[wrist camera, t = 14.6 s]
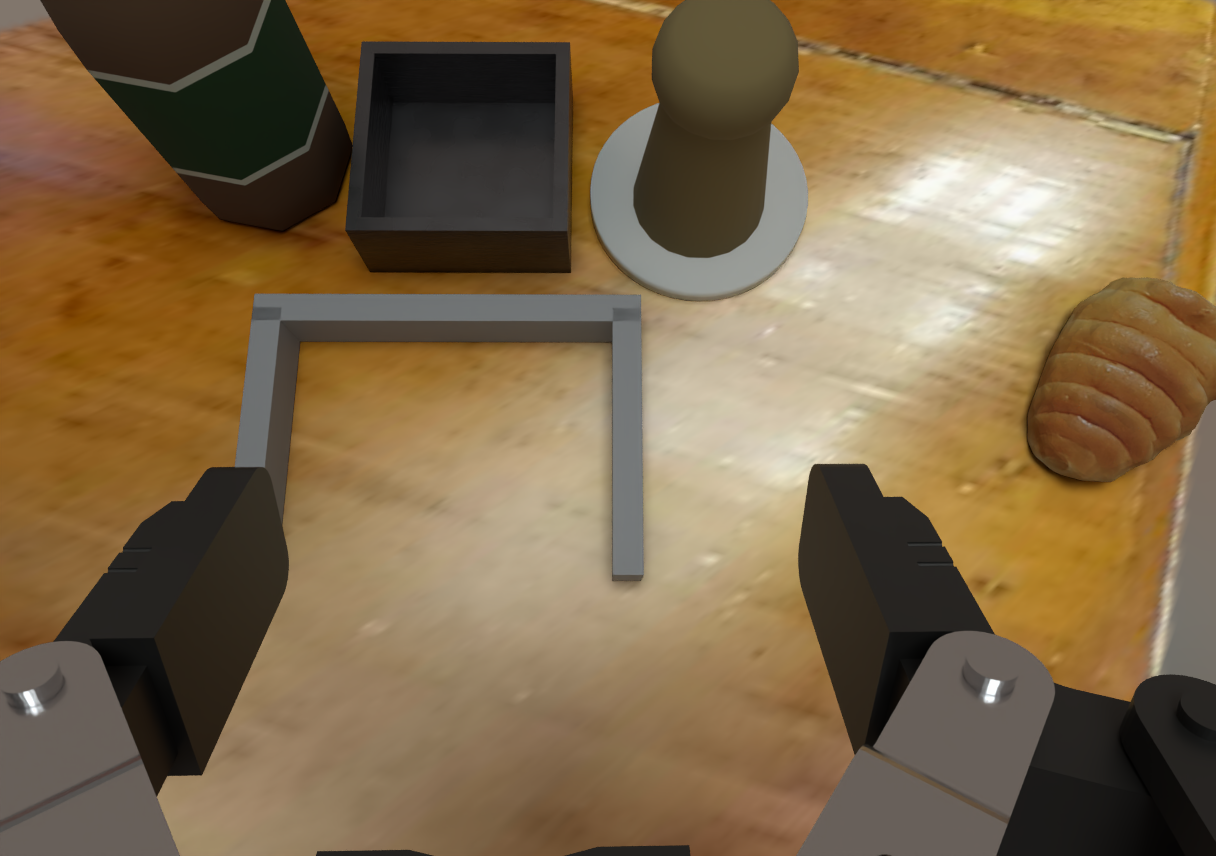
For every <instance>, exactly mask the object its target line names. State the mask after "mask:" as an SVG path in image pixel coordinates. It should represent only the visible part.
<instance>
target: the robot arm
mask: <svg viewBox="0 0 1216 856" xmlns="http://www.w3.org/2000/svg"><path fill="white" fill-rule="evenodd" d="M798 566H799V577H800V583H801V588H802V592H803V595H804V598H805V601H806V604H807V607H808V610H809V613H810V616H811V620H812V623H813V626H814V629H815V632H816V635H817V638H818V641H819V645H820V648H821V651H822V654H823V657H824V660H825V663H826V666H827V670H828V673H829V676H830V679H831V682H832V685H833V688H834V691H835V695H836V698H837V701H838V704H839V707H840V710H841V713H842V716H843V719H844V723H845V726H846V729H847V732H848V735H849V738H850V741H851V744H852V748H853V751H854V754H855V756H854V758H853V760H852V761H851V763H850V765H849V766H848V768H847V770H846V772H845V773H844V775H843V777H842V778H841V780H840V782H839V784H838V785H837V787H836V789H835V790H834V792H833V794H832V796H831V797H830V799H829V801H828V802H827V804H826V806H825V808H824V809H823V811H822V813H821V814H820V816H819V818H818V820H817V821H816V823H815V825H814V826H813V828H812V830H811V831H810V833H809V835H808V837H807V838H806V840H805V842H804V843H803V845H802V847H801V849H800V850H799V852H798V854H797V855H796V856H1216V685H1215V684H1212V683H1210V682H1207V681H1204V680H1200V679H1197V678H1193V677H1188V676H1182V675H1159V676H1154V677H1151V678H1149V679H1146V680H1145V681H1143V682H1142V683H1141V684H1140V685H1139V686H1138V688H1137V689H1136V691H1135V693H1134V695H1133V698H1132V700H1131V702H1128V701H1124V700H1119V699H1115V698H1111V697H1106V696H1102V695H1097V694H1093V693H1089V692H1084V691H1080V690H1076V689H1072V688H1068V687H1065V686H1062V685H1059V684H1056V683H1054V682H1053V680H1052V677H1051V675H1050V674H1049V672H1048V670H1047V669H1046V668H1045V666H1044V665H1043V664H1042V662H1040V661H1039V660H1038V659H1037V658H1036V657H1035V656H1034V655H1033V654H1032V653H1030V652H1029V651H1028V650H1026V649H1025V648H1023V647H1021V646H1020V645H1018V644H1016V643H1014V642H1012V641H1010V640H1008V639H1006V638H1003V637H1000V636H997V635H995V634H994V632H993V630H992V629H991V627H990V625H989V623H988V622H987V620H986V618H985V616H984V615H983V613H982V611H981V609H980V608H979V606H978V604H977V602H976V601H975V599H974V597H973V595H972V593H971V592H970V590H969V588H968V586H967V585H966V583H965V581H964V579H963V578H962V576H961V574H960V572H959V571H958V569H957V567H954V566H953V560H952V558H951V557H950V555H949V553H948V551H947V550H946V548H945V547H942V541H941V539H940V537H939V536H938V534H937V532H936V530H935V529H934V527H933V525H932V523H931V522H930V520H929V518H928V517H927V516H926V515H924V514H923V513H922V512H921V511H919V510H918V509H917V508H916V507H914V506H913V505H912V504H911V503H909V502H908V501H907V500H906V499H904V498H903V497H883V495H882V493H881V491H880V489H879V487H878V485H877V483H876V481H875V479H874V477H873V476H872V474H871V472H870V470H869V468H868V466H867V465H865V464H814V465H813V467H812V469H811V471H810V475H809V481H808V488H807V495H806V502H805V508H804V515H803V522H802V529H801V536H800V543H799V553H798ZM288 571H289V558H288V550H287V545H286V541H285V537H284V532H283V528H282V524H281V519H280V515H279V510H278V506H277V502H276V497H275V493H274V489H273V484H272V480H271V477H270V475H269V473H268V471H267V470H266V469H265V468H264V467H211V468H209V469H207V470H206V471H205V473H204V474H203V475H202V477H201V478H200V480H199V481H198V483H197V484H196V486H195V487H194V488H193V490H192V491H191V493H190V494H189V496H188V497H187V499H186V500H185V501H172V502H170V503H169V504H167V505H166V506H165V507H163V508H162V509H160V510H159V511H158V512H156V513H155V514H153V515H152V516H150V517H149V518H148V519H146V520H145V521H143V522H142V523H141V524H140V525H139V527H138V528H137V529H136V531H135V532H134V534H133V535H132V536H131V538H130V539H129V540H128V542H127V543H126V544H125V546H124V547H123V553H119V554H118V555H117V556H116V558H115V559H114V561H113V562H112V563H111V565H110V566H109V567H108V573H104V574H103V575H102V577H101V578H100V579H99V581H98V582H97V584H96V585H95V586H94V588H93V589H92V590H91V592H90V593H89V594H88V596H87V597H86V598H85V600H84V601H83V602H82V604H81V605H80V606H79V608H78V609H77V611H76V612H75V613H74V615H73V616H72V617H71V619H70V620H69V621H68V623H67V624H66V625H65V627H64V628H63V629H62V631H61V632H60V633H59V635H58V636H57V638H56V639H55V640H54V642H51V643H45V644H41V645H37V646H34V647H31V648H28V649H25V650H22V651H20V652H18V653H16V654H13V655H11V656H9V657H8V658H6V659H4V660H2V661H0V856H180V855H179V852H178V850H177V847H176V845H175V842H174V840H173V837H172V835H171V832H170V830H169V827H168V825H167V822H166V820H165V817H164V814H163V812H162V809H161V807H160V804H159V802H158V799H157V795H158V793H159V791H160V789H161V787H162V785H163V783H164V781H165V779H166V777H167V776H188V775H202V774H203V772H204V770H205V767H206V765H207V763H208V761H209V759H210V756H211V754H212V752H213V750H214V748H215V745H216V743H217V741H218V739H219V736H220V734H221V732H222V730H223V728H224V725H225V723H226V721H227V719H228V716H229V714H230V712H231V710H232V708H233V705H234V703H235V701H236V699H237V697H238V694H239V692H240V690H241V688H242V685H243V683H244V681H245V679H246V677H247V674H248V672H249V670H250V668H251V665H252V663H253V661H254V659H255V657H256V654H257V652H258V650H259V648H260V645H261V643H262V641H263V639H264V637H265V634H266V632H267V630H268V628H269V626H270V623H271V621H272V619H273V617H274V614H275V612H276V610H277V608H278V606H279V603H280V601H281V599H282V597H283V594H284V592H285V589H286V585H287V580H288ZM316 856H432V855H428V854H424V853H420V852H416V851H412V850H373V851H317V854H316ZM566 856H690V849H689V845H682V846H620V847H596V848H592V849H588V850H585V851H581V852H577V853H573V854H569V855H566Z"/></svg>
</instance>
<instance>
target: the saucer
mask: <svg viewBox="0 0 1216 856" xmlns="http://www.w3.org/2000/svg"><path fill="white" fill-rule="evenodd" d="M658 106H659V103H658V104H655V105H653V106H650V107H648V108H646V109H644V110H642V111H640V112H638V113H637V114H635V115H633V116H632V117H630V118H629V119H628V120H627V121H625V122H624V123H623V124H622V125H621V126H619V127H618V128H617V129H616V130H615V131H614V132H613V134H612V135H611V136H610V138H609V139H608V140H607V141H606V143H605V144H604V146H603V148H602V150H601V151H600V153H599V155H598V158H597V161H596V163H595V166H594V170H593V174H592V178H591V191H590V193H591V213H592V219H593V224H594V228H595V231H596V233H597V236H598V239H599V241H600V243H601V244H602V246H603V248H604V250H605V252H606V253H607V254H608V256H609V257H610V258H611V260H612V261H613V262H614V263H615V264H616V265H617V267H618V268H619V269H620V270H621V271H622V272H624V273H625V274H626V275H627V276H628V277H630V278H631V279H632V280H634V281H635V282H637V283H638V284H640V285H642V286H643V287H645V288H647V289H649V290H652V291H654V292H656V293H658V294H661V295H665V296H668V297H671V298H676V299H681V300H689V301H711V300H719V299H724V298H729V297H732V296H735V295H738V294H742V293H744V292H746V291H748V290H750V289H752V288H754V287H756V286H758V285H759V284H761V283H762V282H764V281H765V280H767V279H768V278H769V277H770V276H771V275H773V274H774V273H775V272H776V271H777V270H778V269H779V268H780V267H781V266H782V264H783V263H784V262H785V261H786V259H787V258H788V256H789V255H790V253H791V252H792V250H793V248H794V246H795V244H796V242H797V240H798V237H799V235H800V233H801V231H802V228H803V225H804V222H805V219H806V213H807V207H808V189H807V181H806V177H805V173H804V170H803V167H802V164H801V162H800V160H799V158H798V155H797V154H796V152H795V150H794V149H793V147H792V146H791V144H790V143H789V142H788V140H787V139H786V138H785V137H784V135H783V134H782V133H781V132H780V131H779V130H778V129H777V128H776V127H775V126H773V125H772V124H771V132H770V143H769V155H768V167H767V179H766V190H765V202H764V210H763V213H762V216H761V219H760V222H759V225H758V227H757V228H756V230H755V231H754V232H753V233H752V235H751V236H750V237H749V238H748V240H747V241H746V242H745V243H743V244H742V245H740V246H738V247H737V248H735V249H734V250H732V251H731V252H729V253H726V254H722V255H718V256H715V257H711V258H688V257H685V256H682V255H678V254H675V253H672V252H669V251H667V250H666V249H664V248H663V247H661V246H660V245H658V244H657V243H656V242H654V241H653V240H651V239H650V237H649V236H648V235H647V233H646V232H645V231H644V229H643V228H642V227H641V226H640V224H639V222H638V219H637V216H636V213H635V210H634V207H633V190H634V184H635V181H636V178H637V175H638V171H639V168H640V165H641V162H642V158H643V155H644V152H645V149H646V145H647V142H648V139H649V136H650V132H651V129H652V126H653V123H654V119H655V116H656V113H657V110H658Z"/></svg>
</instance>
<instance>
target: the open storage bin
mask: <svg viewBox="0 0 1216 856" xmlns="http://www.w3.org/2000/svg"><path fill="white" fill-rule="evenodd" d="M572 134H573V91H572V72H571V54H570V42H362V45H361V57H360V68H359V79H358V91H357V102H356V114H355V125H354V137H353V148H352V160H351V171H350V183H349V194H348V205H347V217H346V228H345V231H346V232H347V234H348V236H349V237H350V239H351V241H352V242H353V244H354V246H355V247H356V249H357V251H358V252H359V254H360V256H361V257H362V259H363V261H364V262H365V264H366V266H367V267H368V269H369V271H370V272H545V273H571V212H572Z"/></svg>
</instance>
